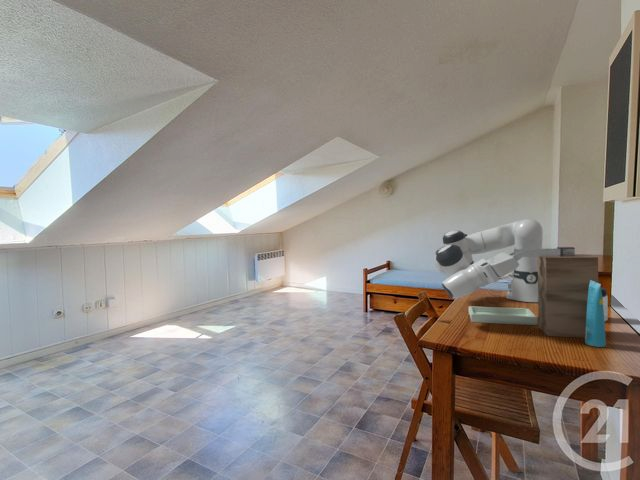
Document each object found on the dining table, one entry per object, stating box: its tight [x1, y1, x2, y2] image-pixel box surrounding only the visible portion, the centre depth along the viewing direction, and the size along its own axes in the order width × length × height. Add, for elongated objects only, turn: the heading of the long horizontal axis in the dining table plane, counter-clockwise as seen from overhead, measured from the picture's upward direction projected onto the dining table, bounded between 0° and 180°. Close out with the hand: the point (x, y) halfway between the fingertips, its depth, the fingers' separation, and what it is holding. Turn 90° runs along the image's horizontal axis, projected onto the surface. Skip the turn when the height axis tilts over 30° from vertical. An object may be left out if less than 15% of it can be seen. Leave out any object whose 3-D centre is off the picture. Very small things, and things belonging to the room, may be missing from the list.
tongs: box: [513, 246, 576, 257], centre depth 113 cm, size 3×17×3 cm, turn 70°
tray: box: [468, 305, 538, 326], centre depth 130 cm, size 13×22×3 cm, turn 70°
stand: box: [537, 254, 599, 339], centre depth 112 cm, size 10×14×26 cm
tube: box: [584, 280, 607, 348], centre depth 100 cm, size 7×5×19 cm, turn 165°
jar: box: [600, 286, 609, 322], centre depth 125 cm, size 9×8×12 cm
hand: (524, 251), depth 115 cm, fingers closed on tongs, 3 cm apart
